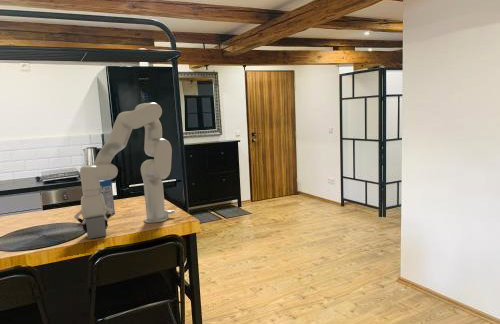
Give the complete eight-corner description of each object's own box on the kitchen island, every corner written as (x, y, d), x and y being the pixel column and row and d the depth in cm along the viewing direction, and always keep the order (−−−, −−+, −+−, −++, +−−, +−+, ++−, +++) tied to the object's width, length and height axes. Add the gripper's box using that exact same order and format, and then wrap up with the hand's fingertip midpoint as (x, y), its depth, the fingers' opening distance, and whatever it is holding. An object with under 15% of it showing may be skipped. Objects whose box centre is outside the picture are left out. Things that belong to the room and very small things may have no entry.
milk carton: (115, 214, 206) (111, 179, 203) (105, 217, 201) (101, 181, 198) (104, 212, 211) (100, 178, 209) (94, 215, 206) (90, 180, 204)
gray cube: (104, 231, 173) (102, 213, 172) (106, 235, 166) (104, 216, 165) (86, 234, 169) (84, 216, 168) (88, 239, 163) (85, 220, 161)
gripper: (110, 188, 172) (114, 224, 175) (70, 194, 164) (74, 231, 167) (113, 191, 166) (117, 228, 168) (70, 197, 158) (75, 236, 160)
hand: (95, 229), depth 167 cm, fingers closed on gray cube, 7 cm apart
